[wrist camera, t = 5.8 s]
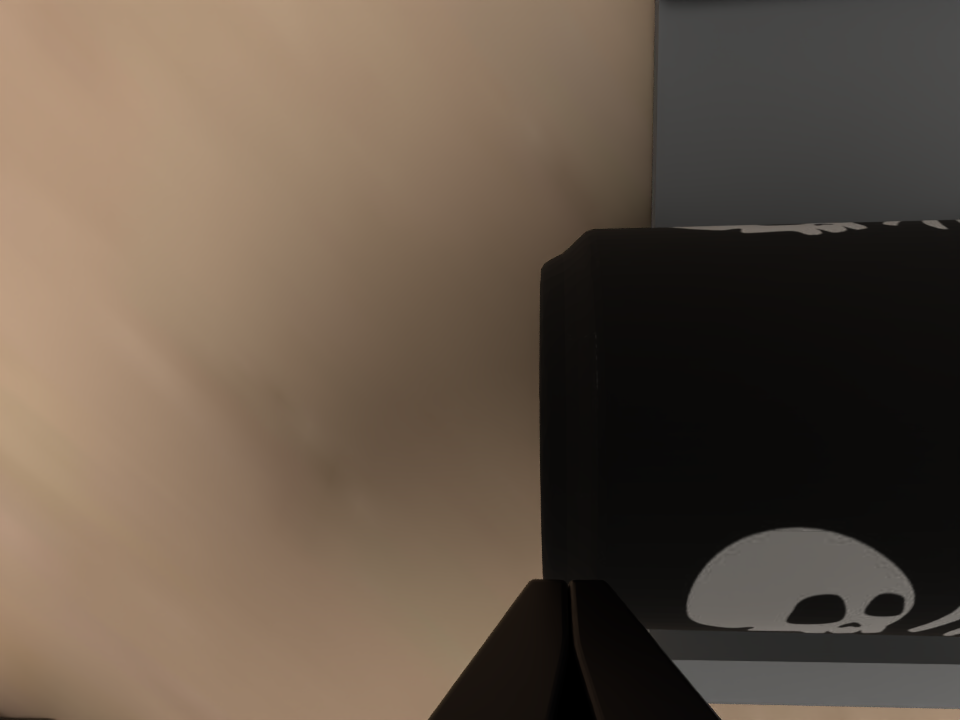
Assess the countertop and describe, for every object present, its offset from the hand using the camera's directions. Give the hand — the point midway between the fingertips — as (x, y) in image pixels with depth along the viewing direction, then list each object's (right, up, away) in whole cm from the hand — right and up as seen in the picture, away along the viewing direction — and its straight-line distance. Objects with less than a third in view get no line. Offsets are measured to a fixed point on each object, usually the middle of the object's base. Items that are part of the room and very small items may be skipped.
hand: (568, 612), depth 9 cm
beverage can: (0, +2, +5) cm, 5 cm away
